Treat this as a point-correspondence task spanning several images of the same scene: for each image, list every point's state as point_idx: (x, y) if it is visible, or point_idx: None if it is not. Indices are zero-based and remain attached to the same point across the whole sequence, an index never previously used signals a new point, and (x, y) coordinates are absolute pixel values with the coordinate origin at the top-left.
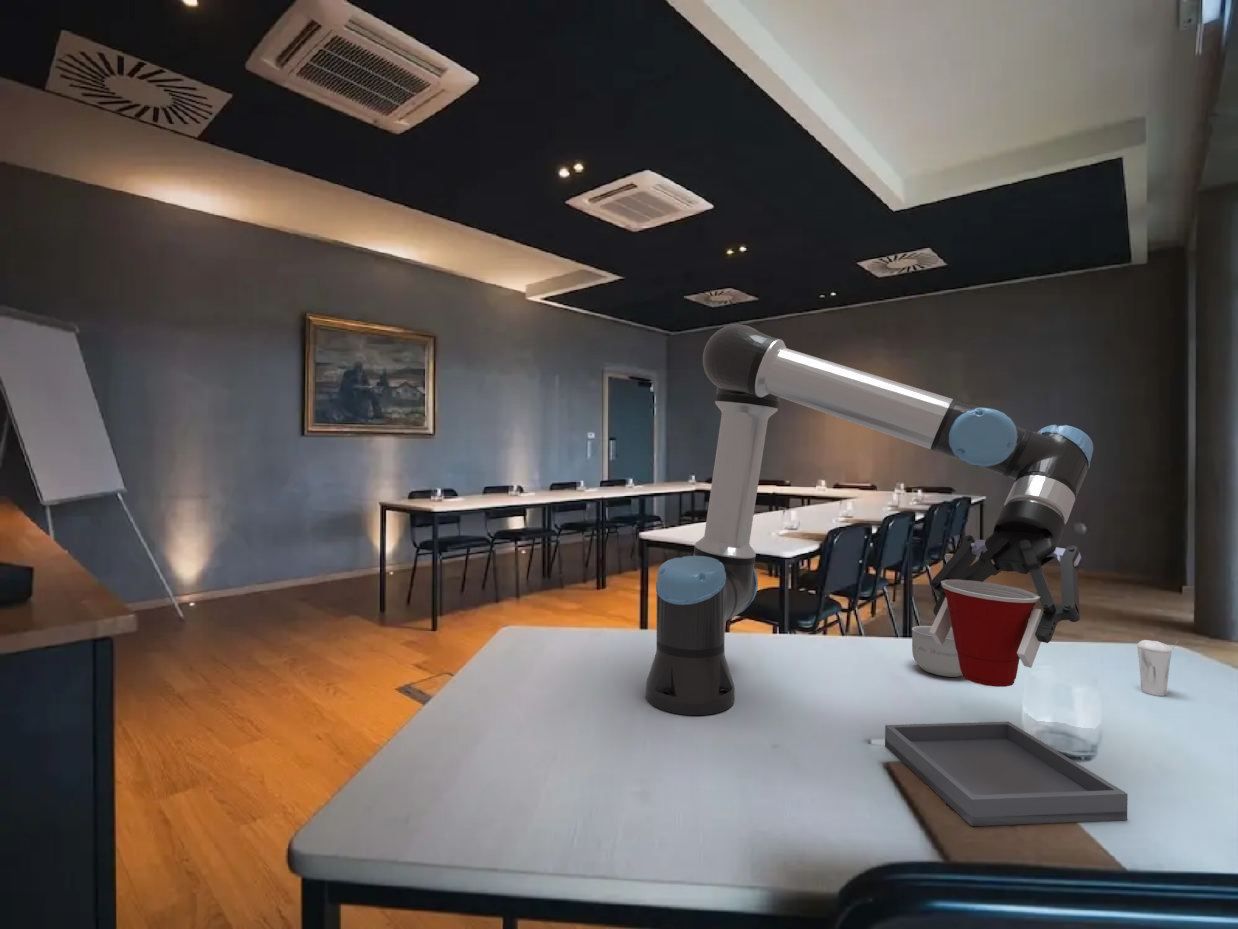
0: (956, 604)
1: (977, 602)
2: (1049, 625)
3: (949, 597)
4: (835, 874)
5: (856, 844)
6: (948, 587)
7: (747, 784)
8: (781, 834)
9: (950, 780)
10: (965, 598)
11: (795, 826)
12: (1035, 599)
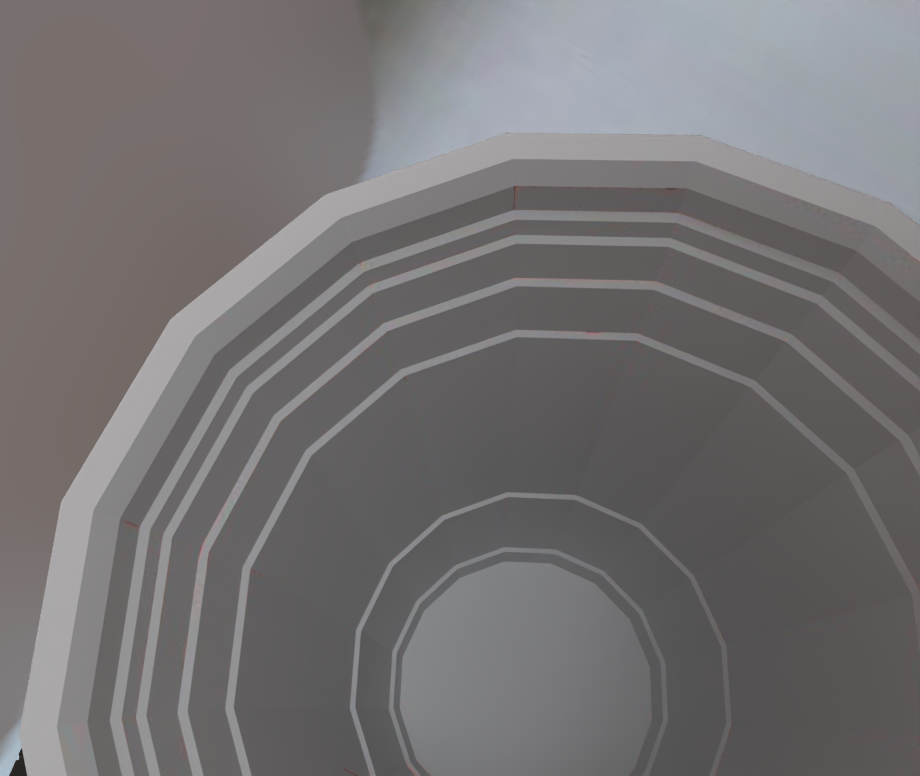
0: (649, 285)
1: (435, 254)
2: (21, 765)
3: (765, 290)
4: (375, 23)
5: (428, 116)
6: (760, 167)
7: (732, 51)
8: (524, 9)
9: None
10: (542, 213)
11: (536, 48)
12: (25, 707)
